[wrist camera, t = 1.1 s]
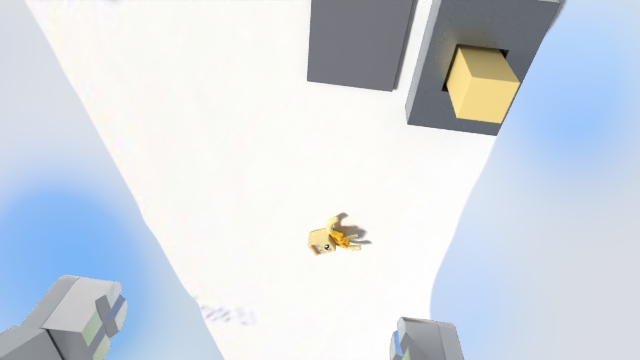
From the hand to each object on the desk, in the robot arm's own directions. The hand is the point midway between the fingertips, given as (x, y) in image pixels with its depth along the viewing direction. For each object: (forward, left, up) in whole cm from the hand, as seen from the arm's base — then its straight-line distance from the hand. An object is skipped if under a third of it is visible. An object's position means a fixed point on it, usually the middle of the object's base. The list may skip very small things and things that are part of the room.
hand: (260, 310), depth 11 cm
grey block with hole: (+5, +14, -35) cm, 38 cm away
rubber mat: (+5, +2, -35) cm, 35 cm away
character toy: (+37, +4, -36) cm, 52 cm away
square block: (+5, +14, -35) cm, 38 cm away
